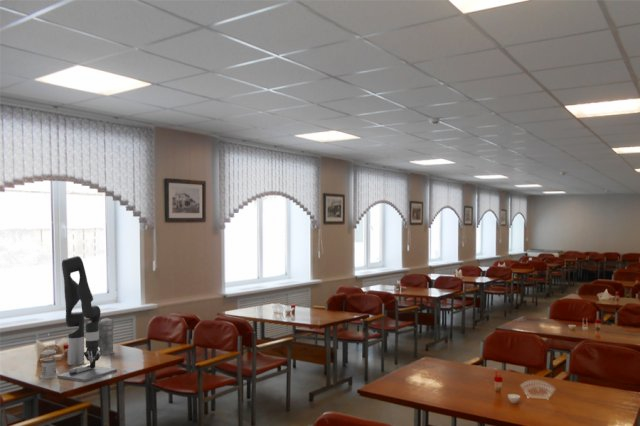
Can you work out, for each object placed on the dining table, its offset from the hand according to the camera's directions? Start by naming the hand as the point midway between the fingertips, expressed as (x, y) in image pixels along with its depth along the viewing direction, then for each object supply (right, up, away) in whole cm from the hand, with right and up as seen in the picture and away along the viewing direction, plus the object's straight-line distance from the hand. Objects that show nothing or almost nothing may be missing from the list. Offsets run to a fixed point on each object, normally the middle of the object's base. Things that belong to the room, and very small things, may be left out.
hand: (92, 368), depth 304 cm
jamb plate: (-1, -3, -4) cm, 5 cm away
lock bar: (-5, -1, -3) cm, 6 cm away
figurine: (-13, -5, +48) cm, 50 cm away
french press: (-25, -3, -4) cm, 25 cm away
